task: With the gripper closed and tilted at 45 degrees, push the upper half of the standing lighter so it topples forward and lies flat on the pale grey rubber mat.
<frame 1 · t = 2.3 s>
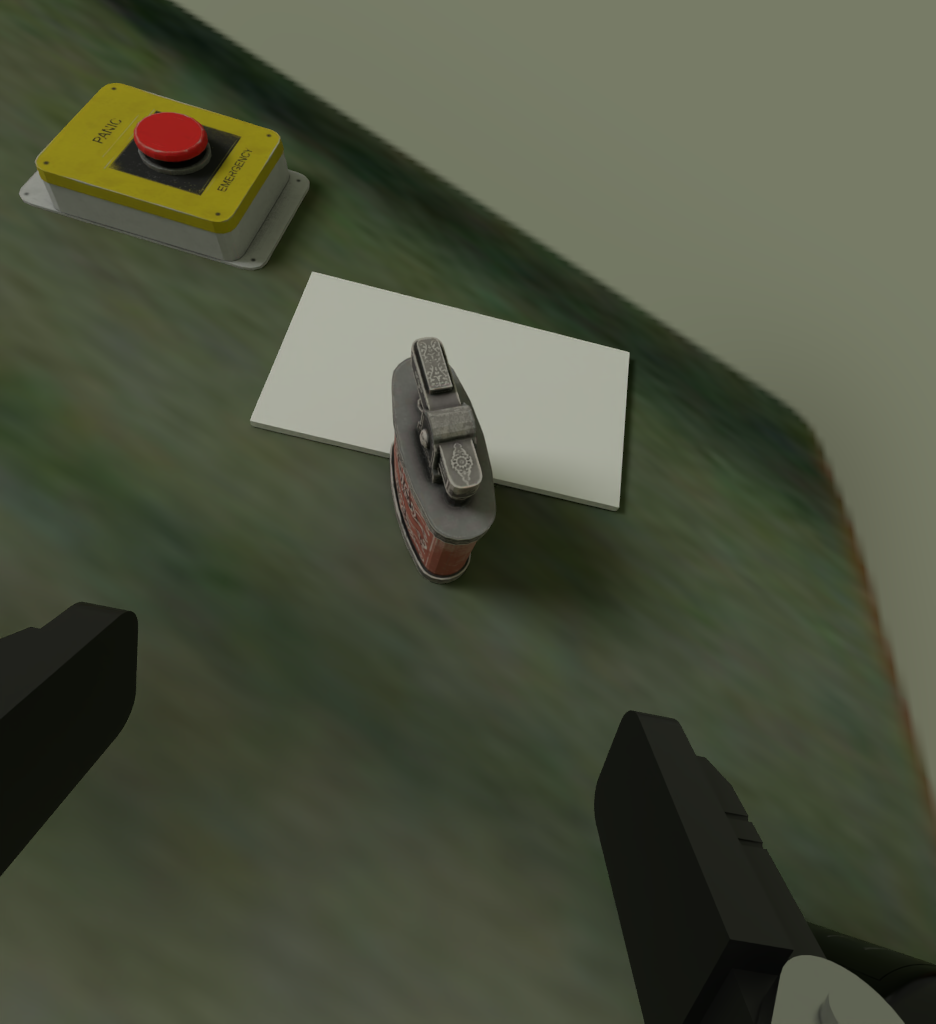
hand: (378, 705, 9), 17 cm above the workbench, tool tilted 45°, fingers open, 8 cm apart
supplement bottle: (771, 1006, 23), on the workbench
emergency button: (176, 199, 36), on the workbench
lighter: (427, 508, 29), on the workbench, touching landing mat
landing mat: (456, 388, 32), on the workbench
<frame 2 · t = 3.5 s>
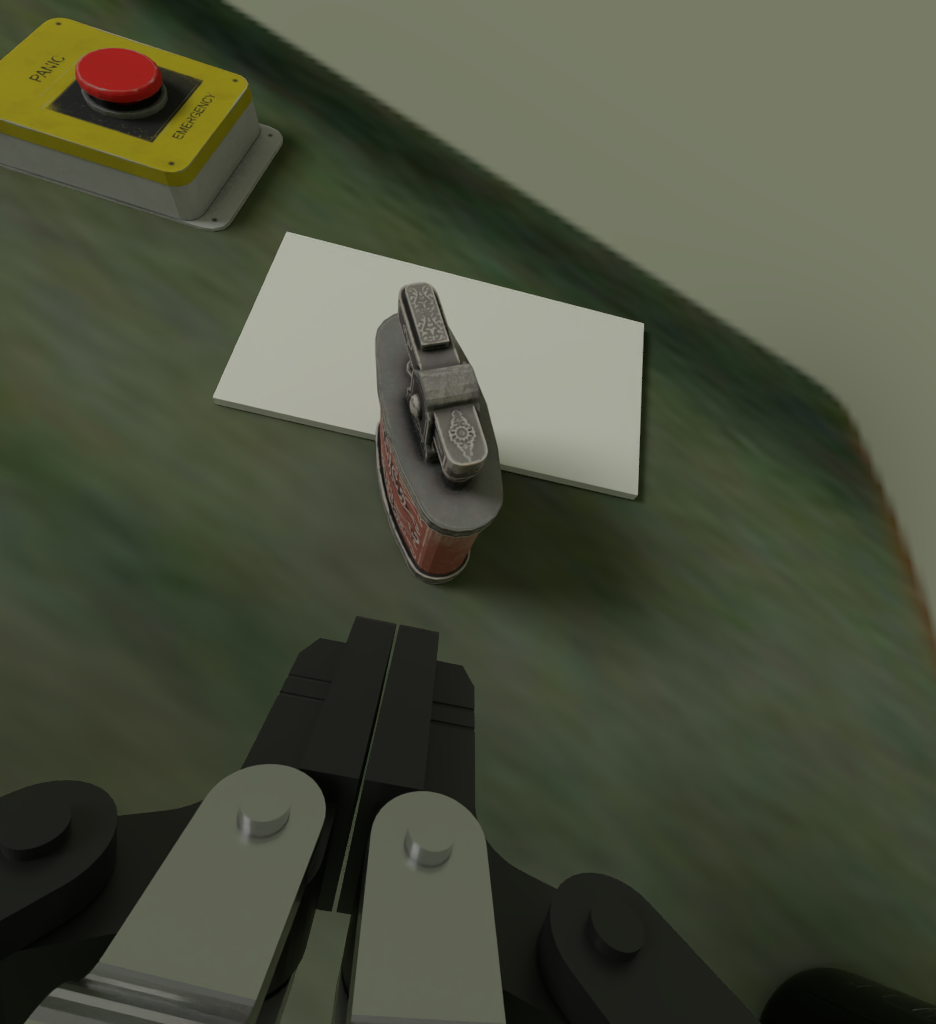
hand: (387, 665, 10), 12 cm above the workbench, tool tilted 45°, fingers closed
emergency button: (131, 152, 32), on the workbench
lighter: (420, 498, 25), on the workbench, touching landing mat
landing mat: (451, 362, 29), on the workbench
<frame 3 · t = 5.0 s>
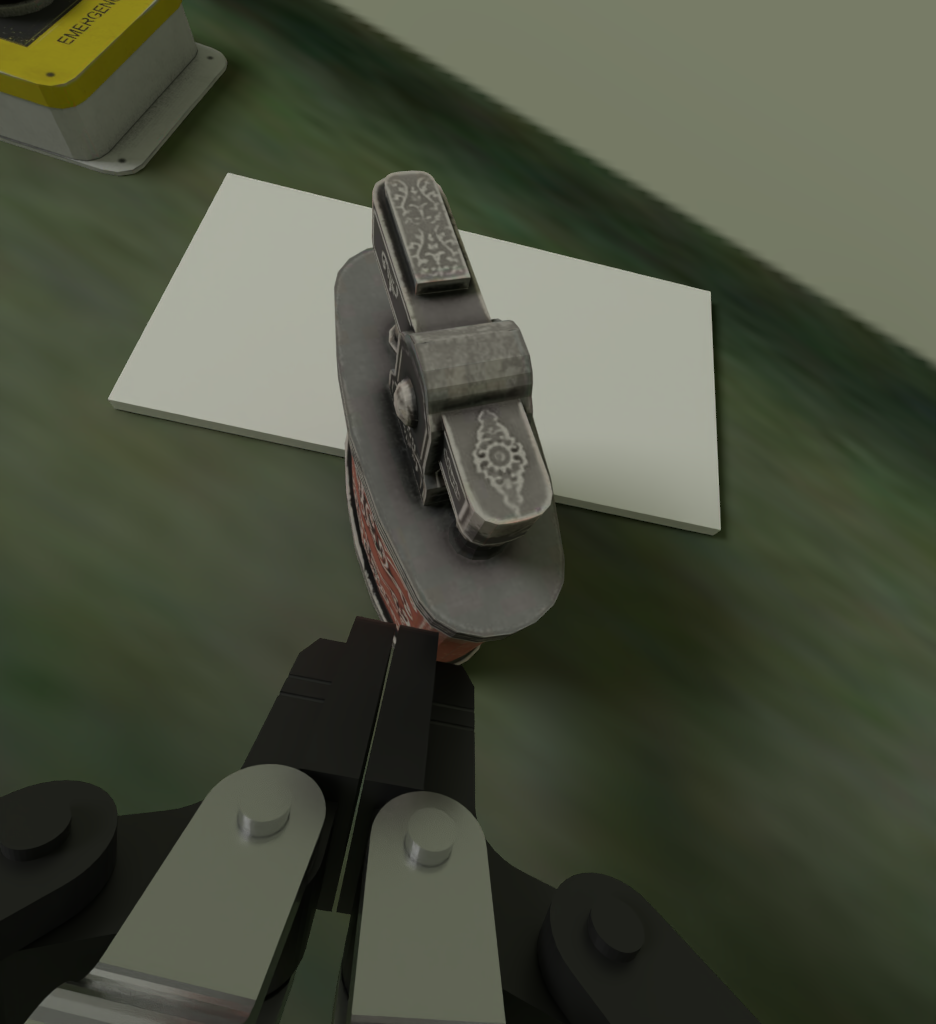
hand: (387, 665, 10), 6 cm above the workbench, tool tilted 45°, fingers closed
emergency button: (23, 77, 24), on the workbench
lighter: (410, 540, 17), on the workbench, touching gripper, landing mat
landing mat: (453, 346, 21), on the workbench
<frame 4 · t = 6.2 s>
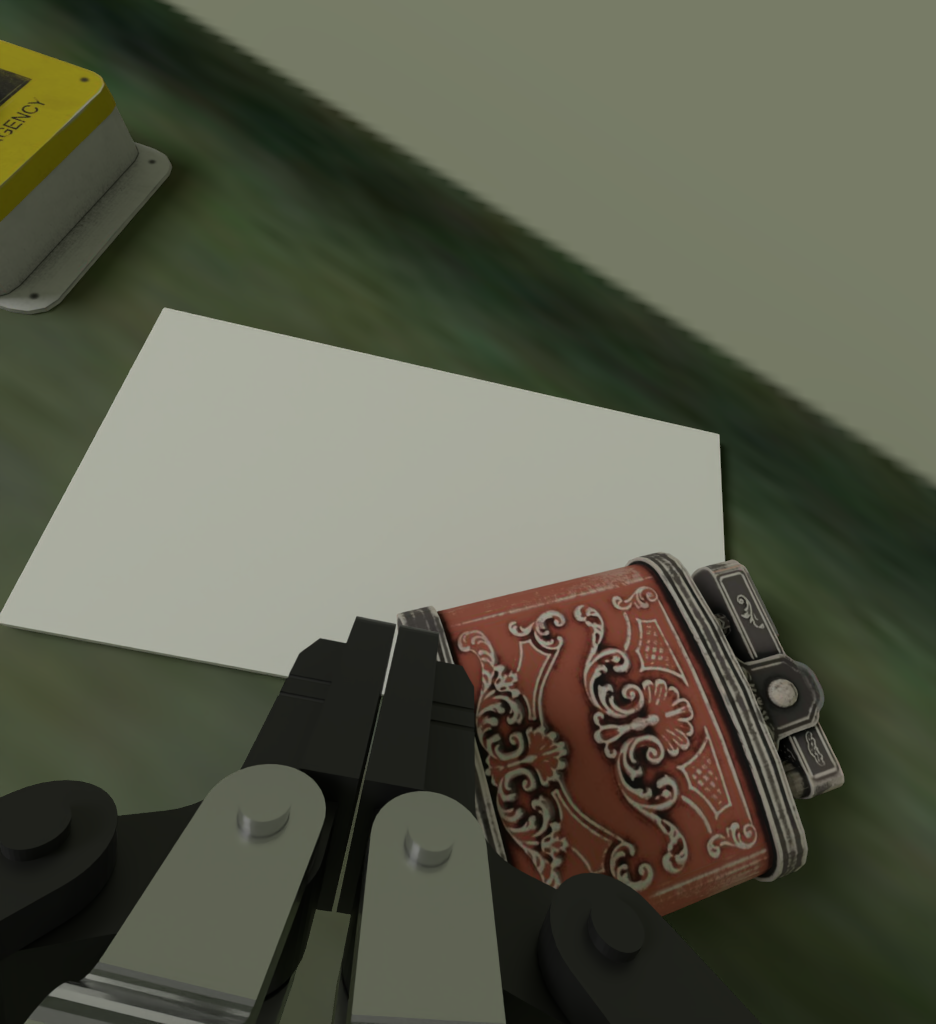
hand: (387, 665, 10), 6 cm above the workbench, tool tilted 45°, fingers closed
lighter: (427, 786, 13), point 2 cm above the workbench, touching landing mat
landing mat: (420, 518, 18), on the workbench
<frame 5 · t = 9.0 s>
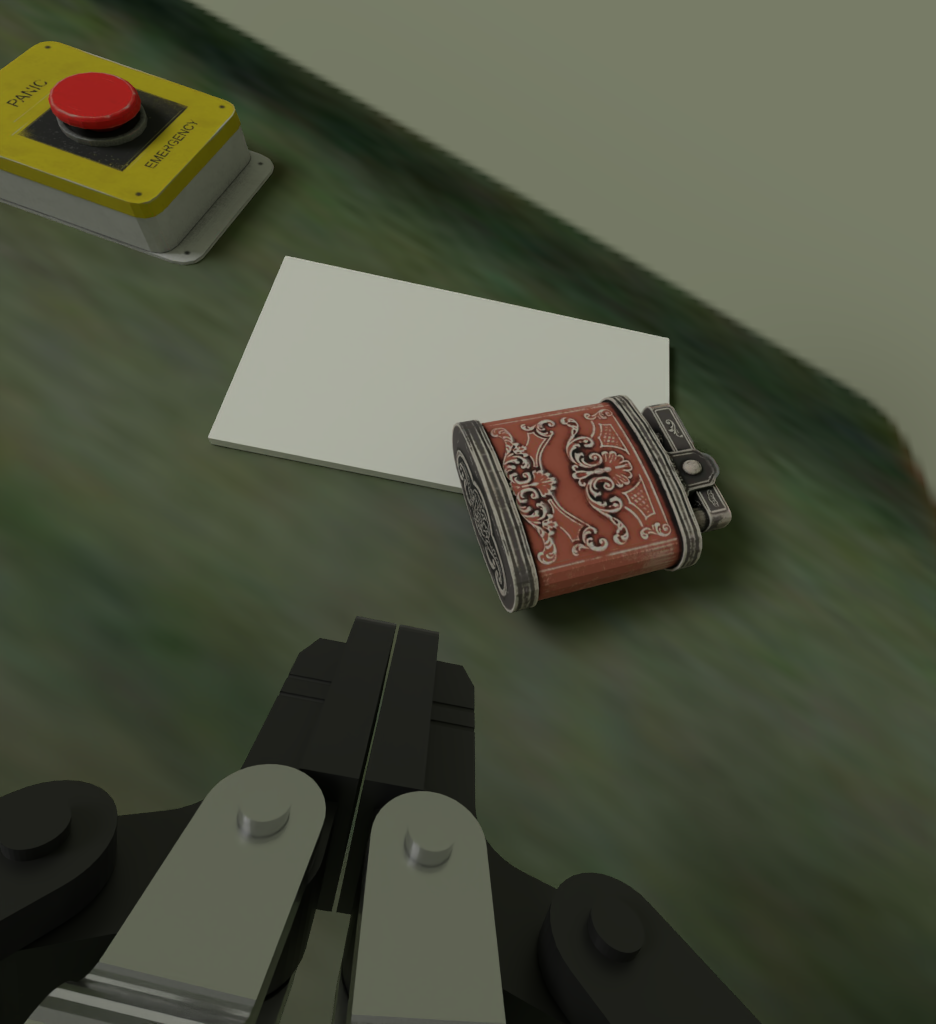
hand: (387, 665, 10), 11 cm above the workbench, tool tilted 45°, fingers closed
emergency button: (115, 179, 31), on the workbench
lighter: (475, 514, 22), point 2 cm above the workbench, touching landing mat
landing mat: (462, 389, 27), on the workbench
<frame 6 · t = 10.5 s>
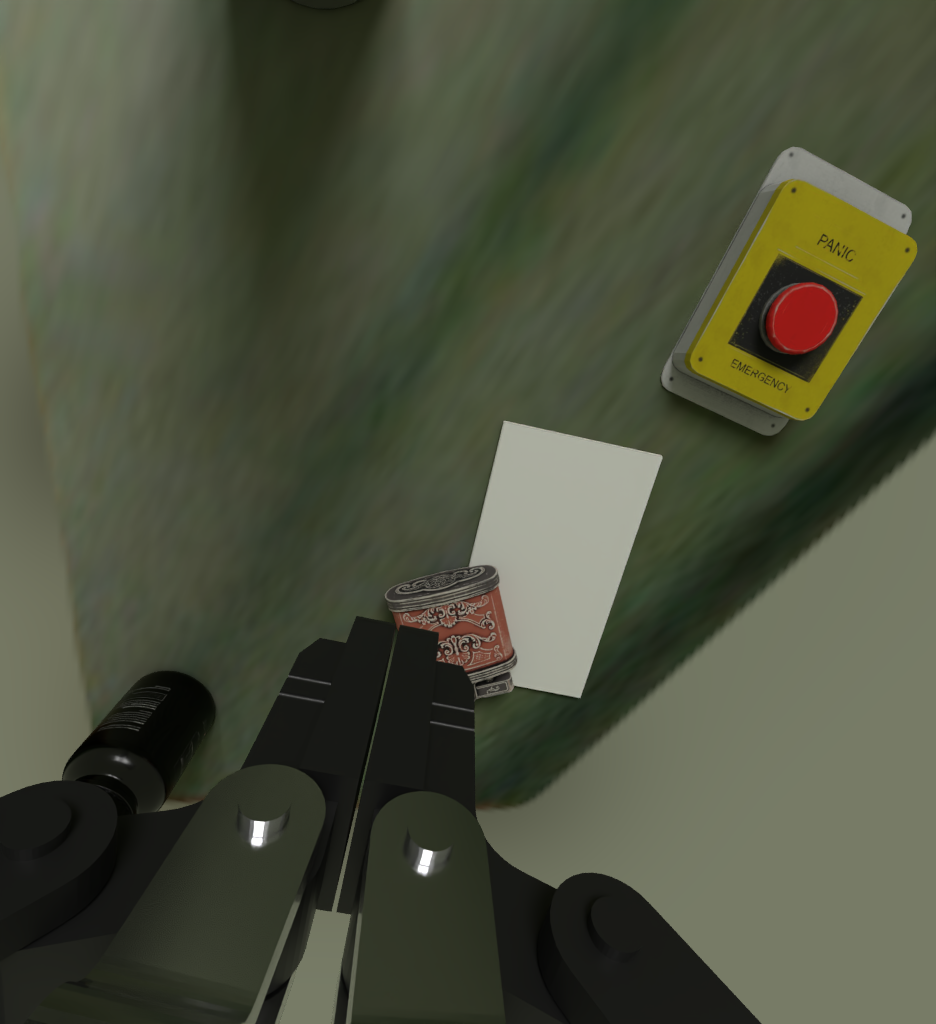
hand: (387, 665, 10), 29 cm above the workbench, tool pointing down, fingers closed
supplement bottle: (177, 701, 46), on the workbench
emergency button: (774, 303, 36), on the workbench
lighter: (440, 579, 39), point 2 cm above the workbench, touching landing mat
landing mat: (544, 569, 41), on the workbench
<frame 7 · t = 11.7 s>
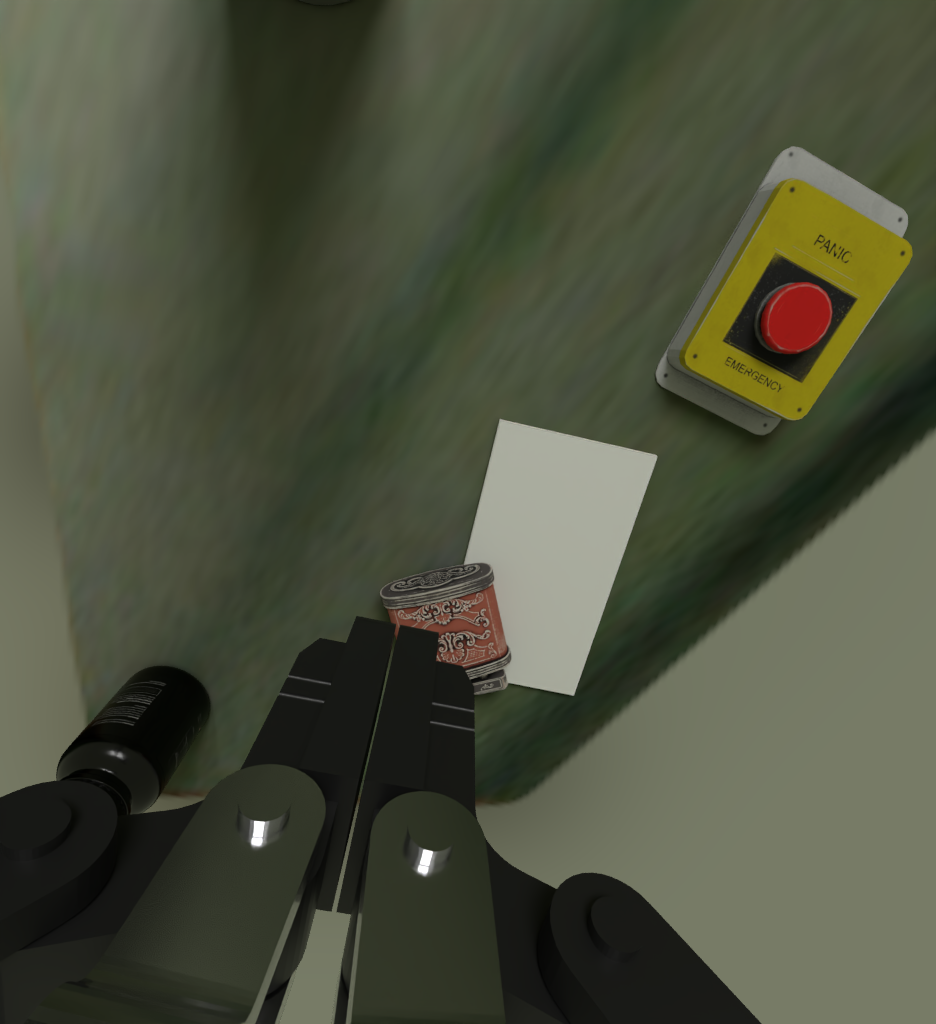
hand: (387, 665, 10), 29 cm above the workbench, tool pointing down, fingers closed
supplement bottle: (172, 696, 46), on the workbench
emergency button: (769, 302, 36), on the workbench
lighter: (435, 577, 39), point 2 cm above the workbench, touching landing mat
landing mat: (539, 567, 41), on the workbench
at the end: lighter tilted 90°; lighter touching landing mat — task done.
